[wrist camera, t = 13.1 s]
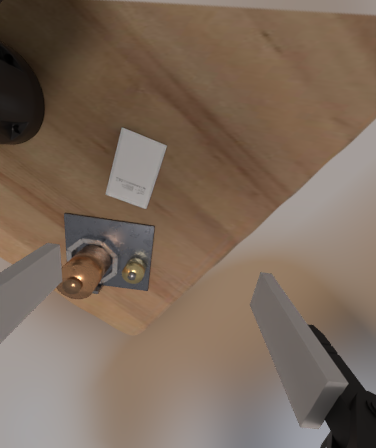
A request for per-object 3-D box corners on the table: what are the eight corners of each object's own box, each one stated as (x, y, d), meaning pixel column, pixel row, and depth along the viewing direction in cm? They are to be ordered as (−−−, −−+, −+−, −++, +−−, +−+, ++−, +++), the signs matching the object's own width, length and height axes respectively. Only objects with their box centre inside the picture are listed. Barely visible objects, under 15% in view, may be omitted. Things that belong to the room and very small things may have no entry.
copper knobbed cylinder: (73, 264, 43) (45, 292, 34) (85, 239, 40) (57, 263, 32) (103, 278, 44) (83, 308, 35) (116, 255, 42) (97, 282, 33)
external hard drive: (167, 145, 36) (147, 207, 39) (124, 128, 35) (107, 192, 38) (166, 145, 34) (145, 209, 38) (121, 126, 33) (104, 194, 37)
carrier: (69, 279, 45) (57, 291, 40) (65, 212, 39) (51, 219, 35) (147, 289, 45) (144, 302, 41) (154, 225, 40) (150, 233, 36)
